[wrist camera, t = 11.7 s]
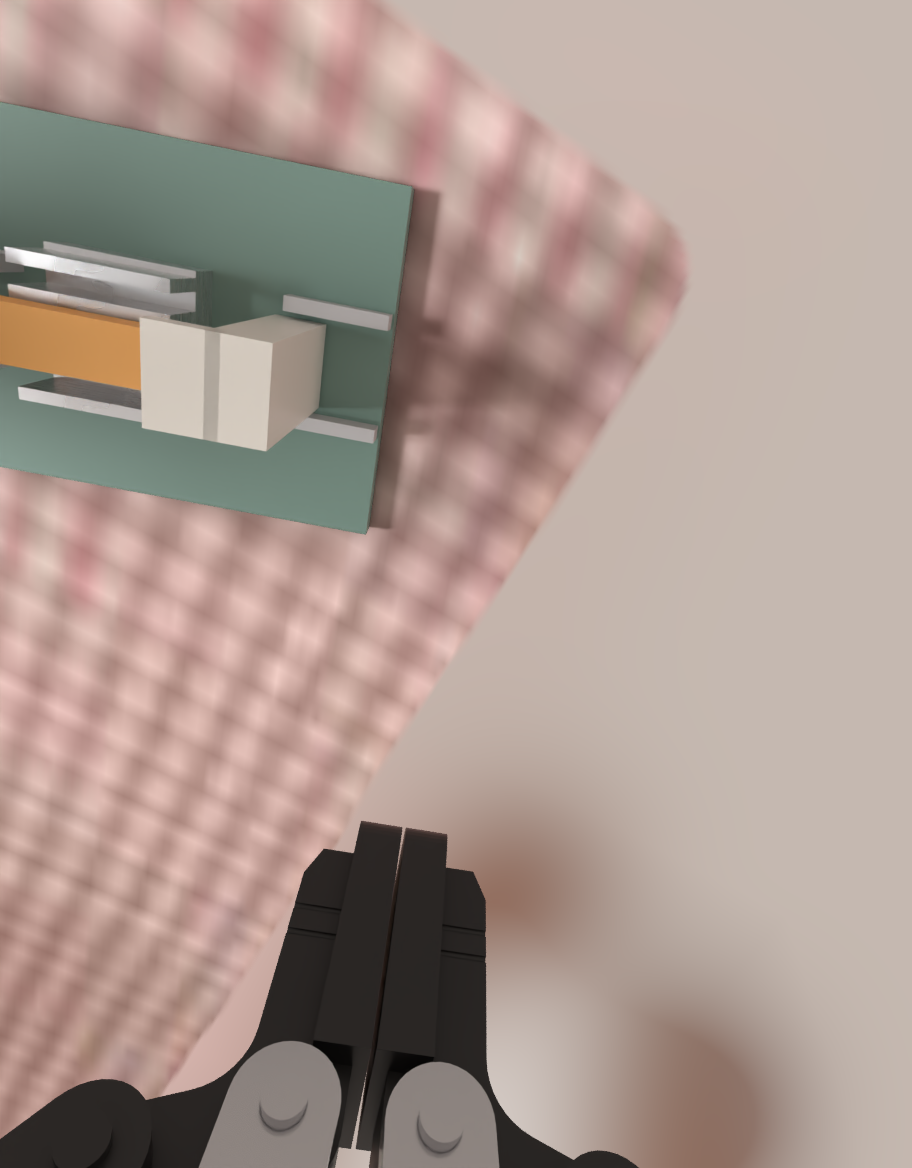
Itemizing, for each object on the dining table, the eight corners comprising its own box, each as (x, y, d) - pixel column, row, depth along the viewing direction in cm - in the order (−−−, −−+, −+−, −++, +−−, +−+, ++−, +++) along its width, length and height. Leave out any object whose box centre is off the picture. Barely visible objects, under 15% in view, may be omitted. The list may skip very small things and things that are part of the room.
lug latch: (223, 389, 30) (142, 428, 23) (226, 304, 29) (139, 317, 22) (318, 408, 30) (266, 451, 23) (326, 324, 29) (273, 343, 22)
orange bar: (-90, 336, 26) (-129, 341, 24) (-101, 274, 25) (-141, 275, 23) (233, 398, 26) (217, 406, 25) (235, 339, 25) (218, 344, 24)
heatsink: (77, 388, 31) (19, 405, 27) (69, 242, 28) (3, 238, 24) (209, 413, 31) (170, 433, 27) (212, 271, 28) (169, 271, 24)
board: (-3, 458, 33) (-144, 513, 26) (-46, 94, 27) (-250, 29, 19) (369, 527, 34) (335, 600, 26) (414, 189, 27) (386, 160, 20)
